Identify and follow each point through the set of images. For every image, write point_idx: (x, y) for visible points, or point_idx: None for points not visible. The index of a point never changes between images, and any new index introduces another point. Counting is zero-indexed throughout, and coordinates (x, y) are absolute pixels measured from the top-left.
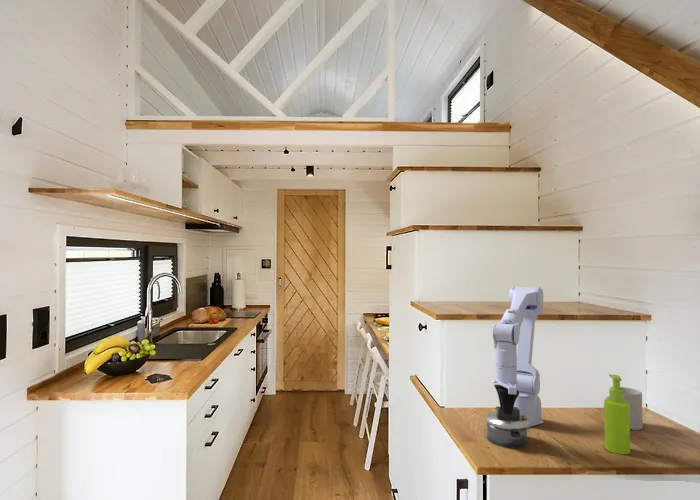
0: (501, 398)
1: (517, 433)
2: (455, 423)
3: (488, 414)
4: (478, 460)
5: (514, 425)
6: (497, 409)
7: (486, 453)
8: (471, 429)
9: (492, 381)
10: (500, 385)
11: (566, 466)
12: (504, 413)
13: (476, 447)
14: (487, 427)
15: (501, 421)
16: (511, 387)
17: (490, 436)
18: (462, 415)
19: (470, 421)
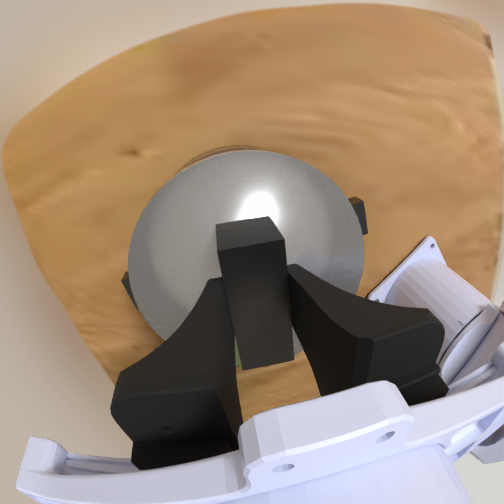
0: (182, 338)
1: (133, 297)
2: (371, 34)
3: (304, 168)
4: (19, 133)
5: (149, 304)
6: (233, 244)
7: (74, 150)
8: (323, 86)
9: (287, 422)
10: (398, 382)
11: (103, 367)
12: (207, 282)
13: (115, 106)
14: (218, 152)
15: (189, 242)
16: (28, 495)
17: (188, 163)
18: (451, 86)
19: (407, 100)
